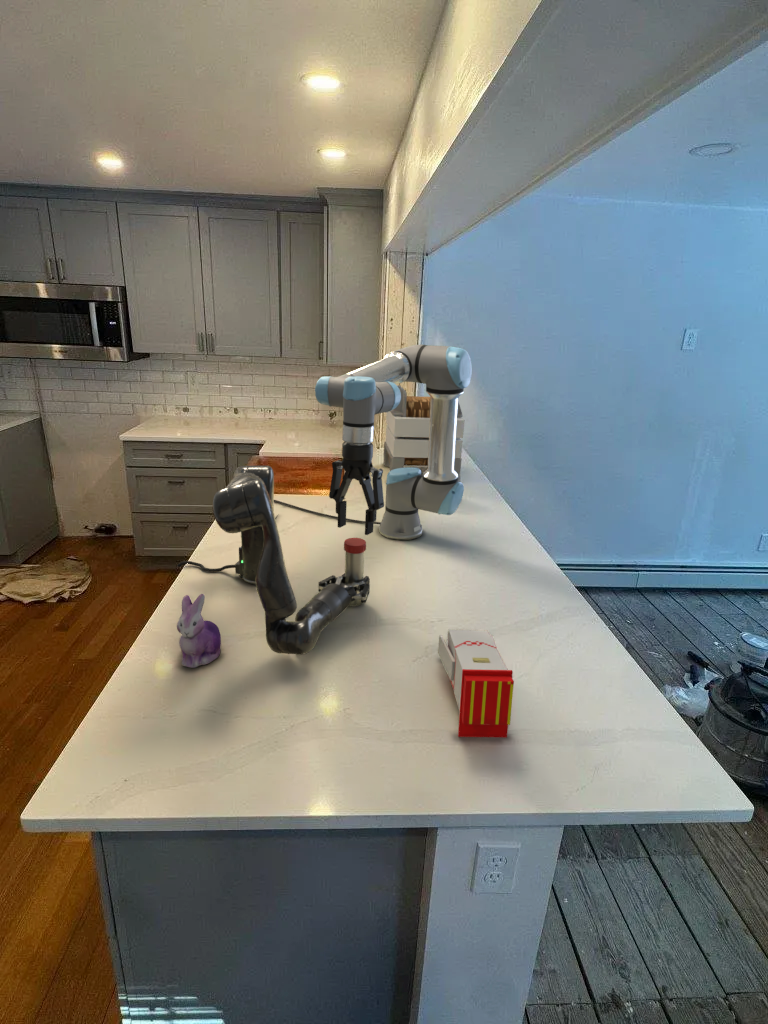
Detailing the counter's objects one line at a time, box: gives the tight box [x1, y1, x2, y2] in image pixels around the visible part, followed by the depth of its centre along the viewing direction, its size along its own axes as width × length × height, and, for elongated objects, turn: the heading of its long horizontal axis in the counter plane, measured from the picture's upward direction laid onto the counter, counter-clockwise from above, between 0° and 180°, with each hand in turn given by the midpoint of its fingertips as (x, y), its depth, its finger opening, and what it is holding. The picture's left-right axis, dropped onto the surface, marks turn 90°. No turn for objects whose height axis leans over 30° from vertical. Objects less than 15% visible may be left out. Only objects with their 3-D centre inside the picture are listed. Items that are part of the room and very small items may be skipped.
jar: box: [344, 551, 365, 607], centre depth 150 cm, size 5×5×17 cm
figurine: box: [176, 593, 222, 668], centre depth 123 cm, size 9×10×15 cm
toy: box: [437, 628, 515, 738], centre depth 117 cm, size 12×13×30 cm
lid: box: [343, 537, 367, 554], centre depth 147 cm, size 6×6×2 cm
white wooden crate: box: [383, 384, 465, 482], centre depth 268 cm, size 34×33×41 cm
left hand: (358, 577), depth 153 cm, fingers closed on jar, 5 cm apart
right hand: (355, 529), depth 145 cm, fingers open, 8 cm apart
